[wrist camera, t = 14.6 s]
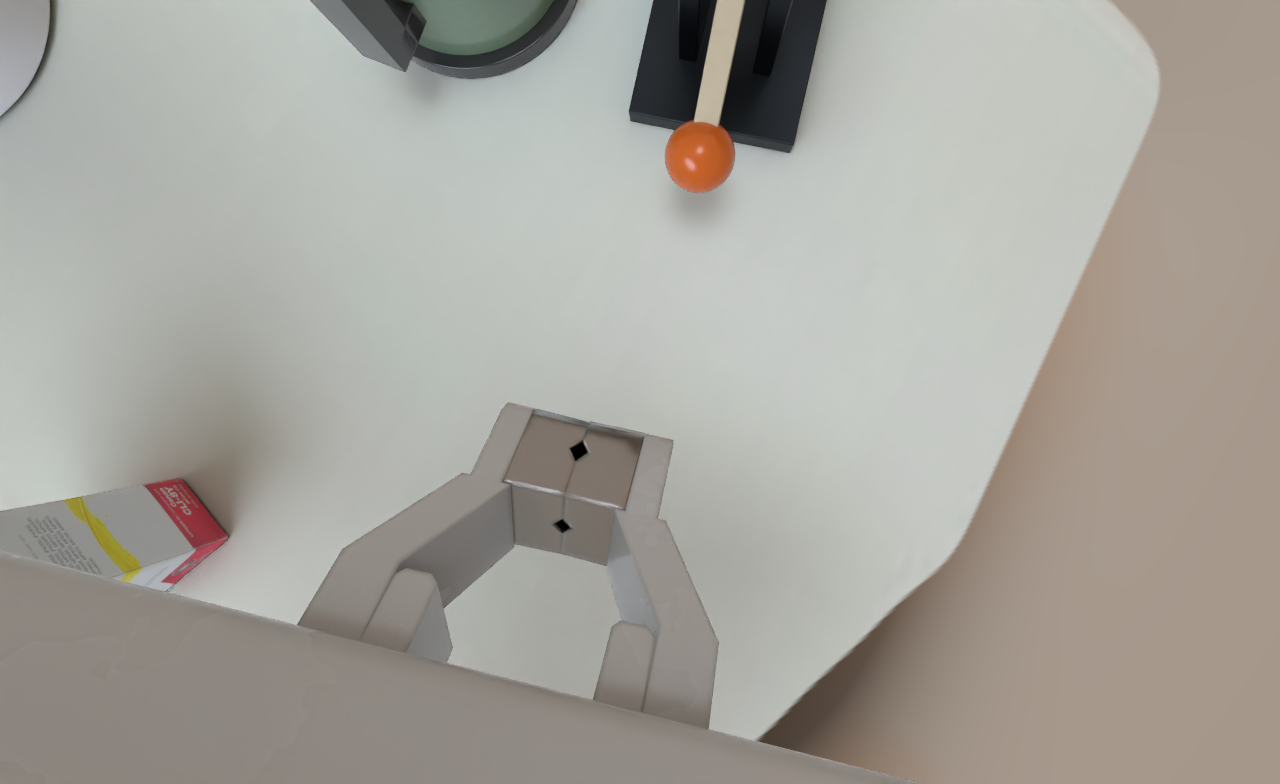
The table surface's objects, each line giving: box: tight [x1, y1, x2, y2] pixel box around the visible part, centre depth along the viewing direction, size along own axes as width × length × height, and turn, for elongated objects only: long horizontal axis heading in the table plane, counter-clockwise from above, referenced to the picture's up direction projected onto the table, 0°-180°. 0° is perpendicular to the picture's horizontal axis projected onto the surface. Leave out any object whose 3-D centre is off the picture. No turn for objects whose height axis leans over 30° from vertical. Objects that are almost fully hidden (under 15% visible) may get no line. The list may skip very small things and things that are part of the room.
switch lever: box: [665, 0, 745, 193], centre depth 27 cm, size 13×3×3 cm, turn 168°
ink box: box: [0, 478, 228, 592], centre depth 32 cm, size 9×5×12 cm, turn 128°
